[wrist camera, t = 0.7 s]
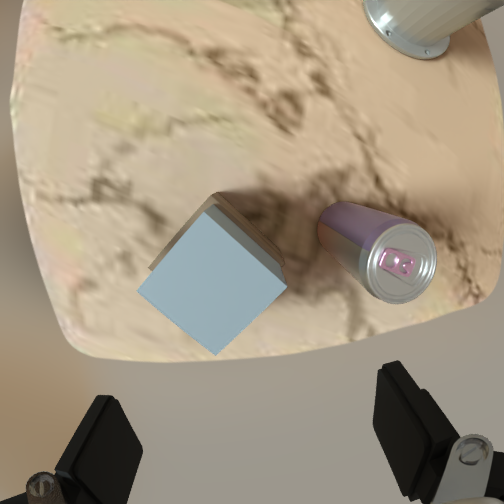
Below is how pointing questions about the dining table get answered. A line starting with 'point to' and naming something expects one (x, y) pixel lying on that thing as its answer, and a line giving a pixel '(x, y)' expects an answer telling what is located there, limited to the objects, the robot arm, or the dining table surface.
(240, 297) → the top block
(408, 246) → the beverage can
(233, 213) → the base block
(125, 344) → the dining table surface
